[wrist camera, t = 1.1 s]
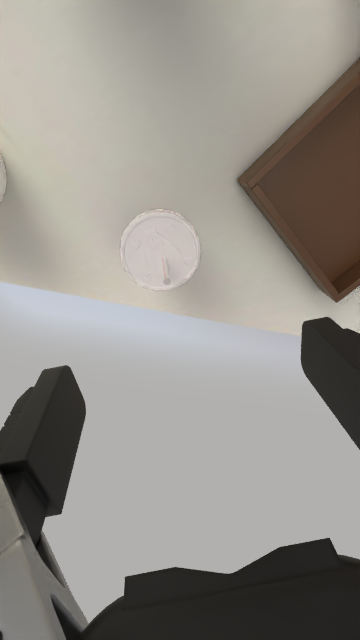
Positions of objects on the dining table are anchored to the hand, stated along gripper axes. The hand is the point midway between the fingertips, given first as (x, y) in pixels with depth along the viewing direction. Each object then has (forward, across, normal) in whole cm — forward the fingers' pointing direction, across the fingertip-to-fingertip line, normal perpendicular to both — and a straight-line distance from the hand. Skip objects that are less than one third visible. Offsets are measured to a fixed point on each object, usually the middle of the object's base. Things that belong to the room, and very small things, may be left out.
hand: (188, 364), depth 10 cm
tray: (+24, -20, -1) cm, 32 cm away
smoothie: (+24, 0, 0) cm, 24 cm away
